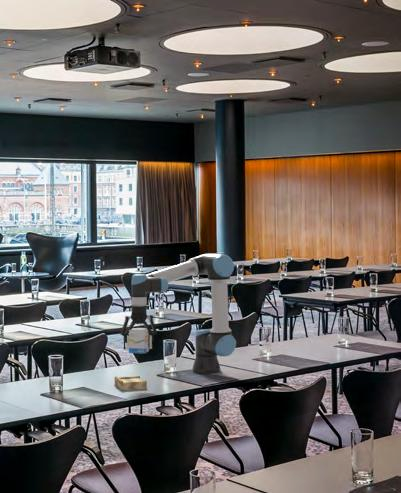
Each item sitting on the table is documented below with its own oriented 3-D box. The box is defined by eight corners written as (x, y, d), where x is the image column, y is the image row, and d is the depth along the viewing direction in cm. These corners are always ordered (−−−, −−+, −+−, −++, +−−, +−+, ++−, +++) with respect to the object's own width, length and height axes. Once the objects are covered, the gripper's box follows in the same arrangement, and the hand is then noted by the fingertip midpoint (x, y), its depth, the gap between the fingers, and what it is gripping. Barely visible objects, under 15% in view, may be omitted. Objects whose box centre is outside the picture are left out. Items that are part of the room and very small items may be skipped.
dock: (139, 383, 458) (139, 374, 457) (146, 388, 444) (146, 379, 444) (114, 385, 453) (114, 376, 453) (121, 390, 440) (121, 381, 440)
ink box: (145, 353, 444) (145, 330, 444) (128, 353, 446) (128, 329, 445) (149, 351, 453) (149, 328, 452) (133, 350, 454) (133, 327, 454)
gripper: (159, 303, 456) (159, 346, 457) (114, 305, 448) (114, 348, 449) (163, 305, 449) (163, 349, 449) (117, 306, 441) (117, 351, 442)
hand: (138, 349), depth 449 cm, fingers closed on ink box, 11 cm apart
